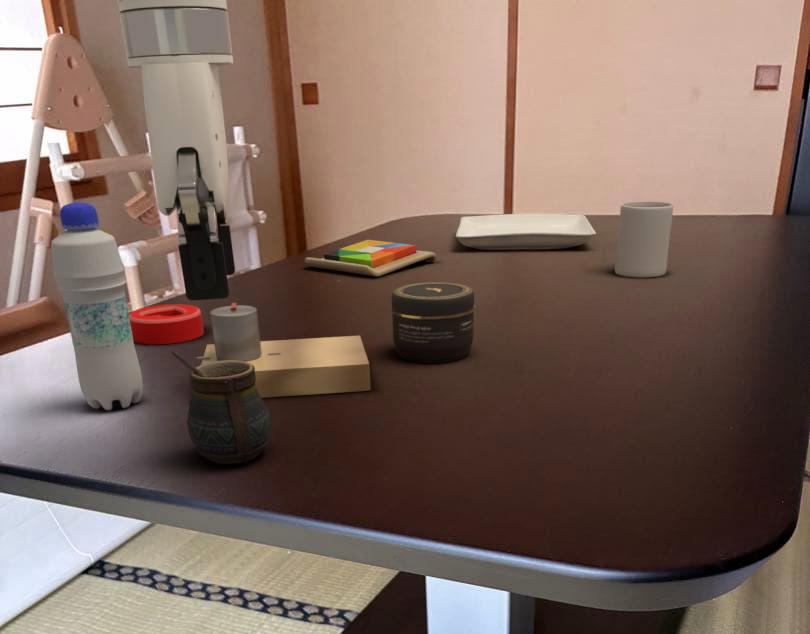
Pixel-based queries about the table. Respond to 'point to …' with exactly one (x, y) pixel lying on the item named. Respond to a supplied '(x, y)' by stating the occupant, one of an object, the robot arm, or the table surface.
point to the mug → (643, 239)
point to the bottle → (96, 308)
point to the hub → (236, 333)
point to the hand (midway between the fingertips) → (212, 286)
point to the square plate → (524, 231)
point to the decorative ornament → (166, 324)
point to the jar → (433, 321)
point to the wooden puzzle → (371, 258)
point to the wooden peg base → (308, 366)
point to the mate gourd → (226, 411)
